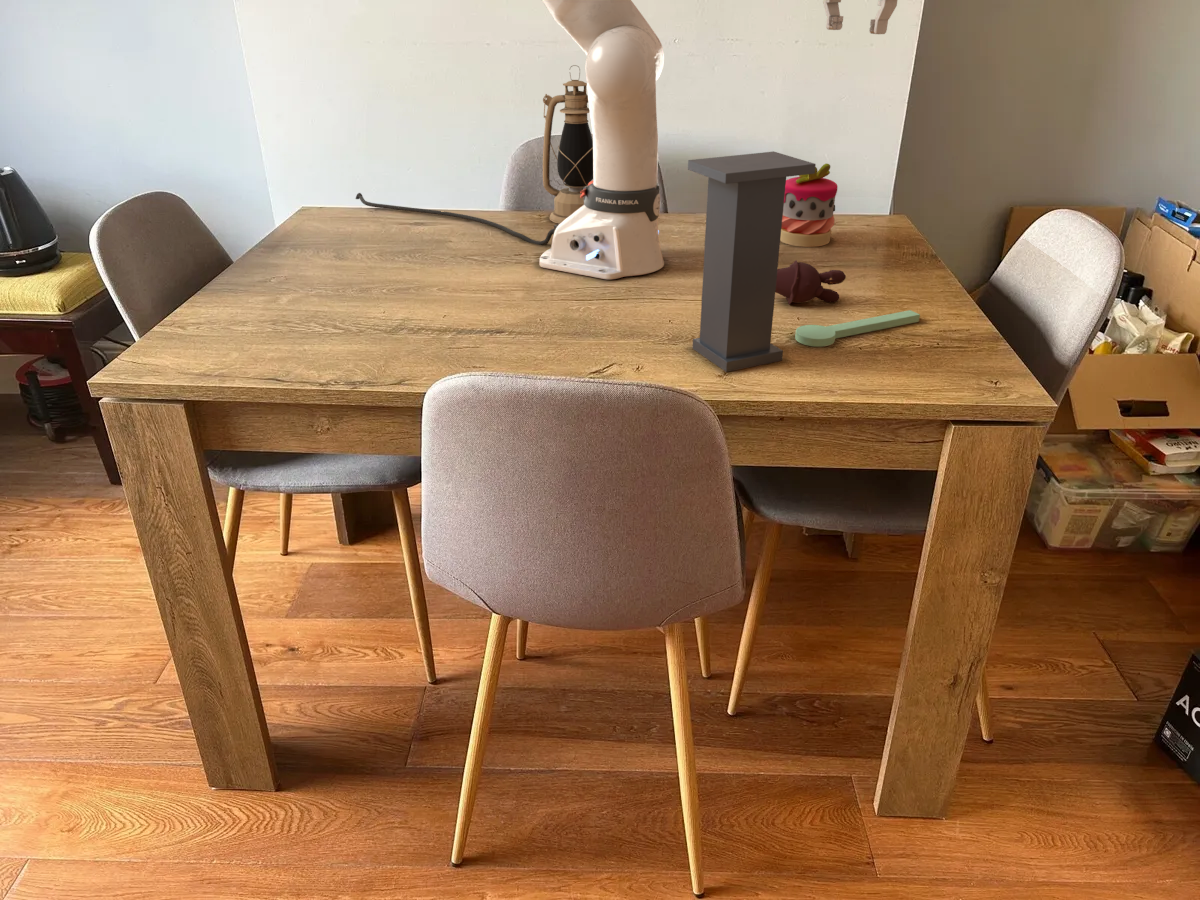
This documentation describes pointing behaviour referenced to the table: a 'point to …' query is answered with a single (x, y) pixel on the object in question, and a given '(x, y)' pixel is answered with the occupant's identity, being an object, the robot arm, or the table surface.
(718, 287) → the stand
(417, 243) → the table surface
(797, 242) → the cake
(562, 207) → the lantern
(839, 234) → the table surface
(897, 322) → the spoon
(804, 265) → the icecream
